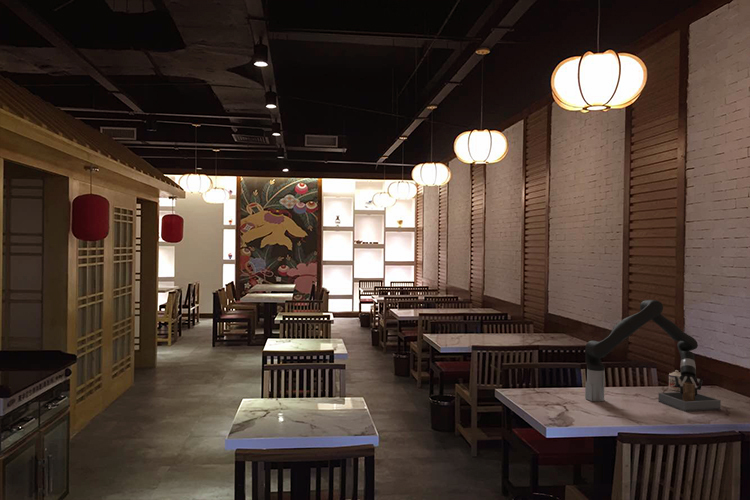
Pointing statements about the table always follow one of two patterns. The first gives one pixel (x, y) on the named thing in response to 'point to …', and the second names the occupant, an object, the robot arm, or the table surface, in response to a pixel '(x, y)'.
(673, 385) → the teacup with lid
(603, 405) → the table surface
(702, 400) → the grey tray
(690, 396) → the walnut crate
